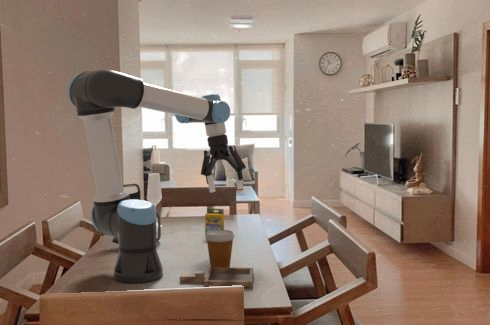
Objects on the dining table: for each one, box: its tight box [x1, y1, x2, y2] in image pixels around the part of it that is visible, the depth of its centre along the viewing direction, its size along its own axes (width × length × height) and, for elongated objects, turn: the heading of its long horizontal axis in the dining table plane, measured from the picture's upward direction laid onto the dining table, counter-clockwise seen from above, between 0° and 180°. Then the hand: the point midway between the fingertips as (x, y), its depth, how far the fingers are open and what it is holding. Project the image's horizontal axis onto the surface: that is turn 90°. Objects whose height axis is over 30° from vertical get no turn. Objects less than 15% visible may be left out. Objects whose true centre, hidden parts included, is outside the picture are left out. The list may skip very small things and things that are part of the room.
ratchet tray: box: [179, 267, 254, 289], centre depth 160 cm, size 22×14×2 cm, turn 88°
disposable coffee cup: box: [204, 229, 235, 268], centre depth 173 cm, size 10×10×12 cm
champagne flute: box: [146, 172, 163, 229], centre depth 237 cm, size 7×7×24 cm
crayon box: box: [204, 208, 225, 236], centre depth 217 cm, size 7×3×12 cm, turn 76°
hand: (226, 190), depth 199 cm, fingers open, 13 cm apart
